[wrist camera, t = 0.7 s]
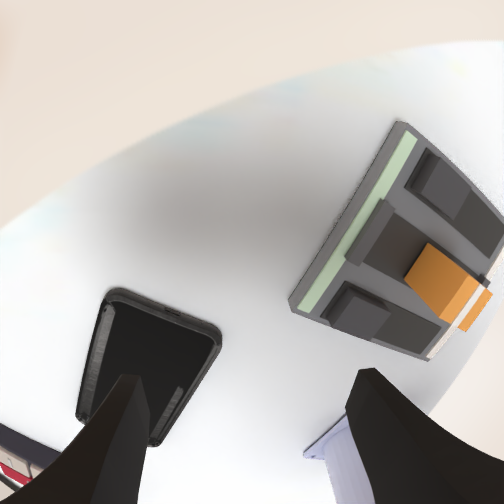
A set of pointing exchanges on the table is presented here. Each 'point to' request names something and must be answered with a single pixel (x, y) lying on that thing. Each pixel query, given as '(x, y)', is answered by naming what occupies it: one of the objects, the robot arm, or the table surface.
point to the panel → (400, 247)
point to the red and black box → (23, 455)
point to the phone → (147, 357)
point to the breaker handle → (447, 288)
